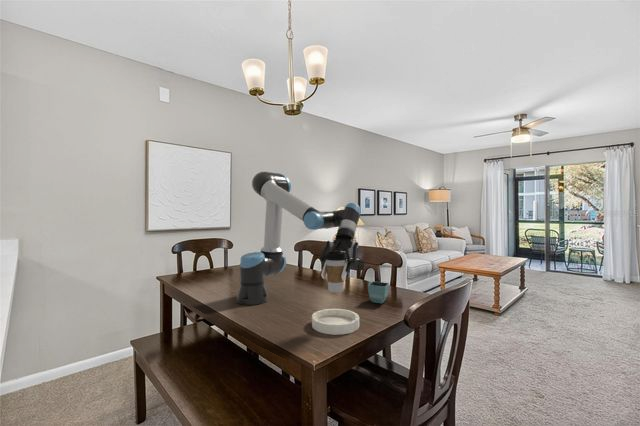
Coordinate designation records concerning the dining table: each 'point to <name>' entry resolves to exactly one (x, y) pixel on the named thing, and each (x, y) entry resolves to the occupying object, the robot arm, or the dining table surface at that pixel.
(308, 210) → the robot arm
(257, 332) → the dining table surface
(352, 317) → the serving bowl
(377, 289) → the flower pot
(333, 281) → the coffee cup
